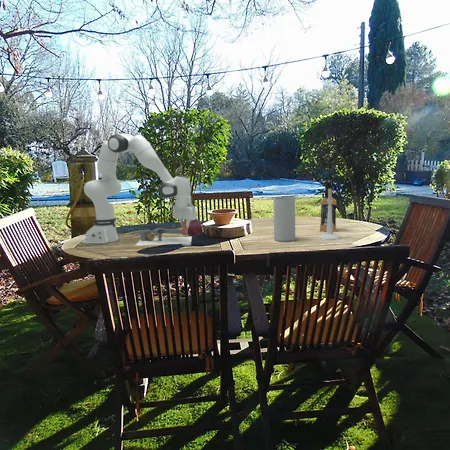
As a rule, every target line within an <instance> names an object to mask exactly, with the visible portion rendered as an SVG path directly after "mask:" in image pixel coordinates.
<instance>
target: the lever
mask: <svg viewBox="0 0 450 450" xmlns="http://www.w3.org/2000/svg"><path fill="white" fill-rule="evenodd" d="M185 224H186V220H183V222H182V226H181V227H182V228H179V229H177V228H163V227H157V228H155V229H153V230H152V232H153V233H152V234H153V236H154V237H158V236H159V235H163V234H170V235H171V234H173V235H174V234H178V235H182V236H189V235H188V227H186V226H185Z"/></svg>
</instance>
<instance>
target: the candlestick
mask: <svg viewBox="0 0 450 450" xmlns="http://www.w3.org/2000/svg"><path fill="white" fill-rule="evenodd" d="M332 189H333V188H331V189H328V200H327V201H328V218H327V232H326V233H323V234H320V235H319V236H318V239H319V238H320V240H322V239H325V240H324V241H337V240H336V239H339V240H341V239H342V238H341V236H340V235H339V234H336V233H334V232H333V227H332V206H331V204H332V201H333V200H332V198H333V190H332ZM340 238H341V239H340Z"/></svg>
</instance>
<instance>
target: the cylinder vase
mask: <svg viewBox="0 0 450 450" xmlns="http://www.w3.org/2000/svg"><path fill="white" fill-rule="evenodd" d="M273 239H274V240H275V241H276V242H283V243H285V242H292V241H293V242H294V240H296V198H295V196H294V197H293V196H278V197H273Z"/></svg>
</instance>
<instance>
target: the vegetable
mask: <svg viewBox="0 0 450 450" xmlns="http://www.w3.org/2000/svg"><path fill="white" fill-rule="evenodd" d="M202 235H204V229H203V225H202V224H201V222H200V221H199V219H198V218H197V217H196V220H190V223H189V227H188V235H187V236H202Z"/></svg>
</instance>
